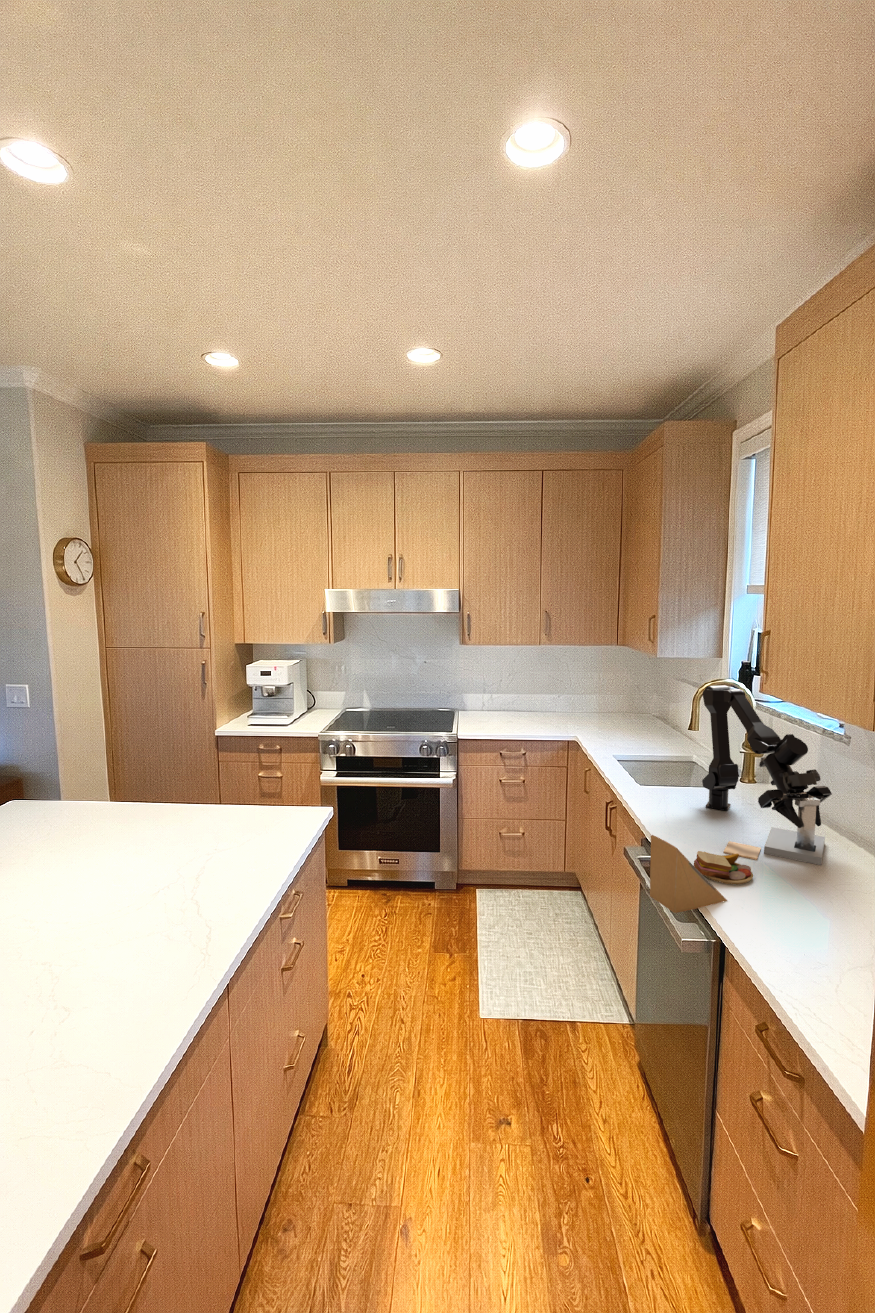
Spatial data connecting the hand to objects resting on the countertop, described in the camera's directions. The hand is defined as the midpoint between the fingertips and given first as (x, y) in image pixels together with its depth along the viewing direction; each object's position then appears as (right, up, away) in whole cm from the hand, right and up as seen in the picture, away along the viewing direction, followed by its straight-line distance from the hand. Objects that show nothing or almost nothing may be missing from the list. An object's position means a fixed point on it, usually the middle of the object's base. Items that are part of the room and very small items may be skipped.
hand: (810, 826), depth 160 cm
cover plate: (-1, -8, +6) cm, 9 cm away
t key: (0, -8, +2) cm, 8 cm away
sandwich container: (-40, -11, -20) cm, 46 cm away
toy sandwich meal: (-27, -10, -9) cm, 30 cm away
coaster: (-16, -8, +4) cm, 18 cm away
